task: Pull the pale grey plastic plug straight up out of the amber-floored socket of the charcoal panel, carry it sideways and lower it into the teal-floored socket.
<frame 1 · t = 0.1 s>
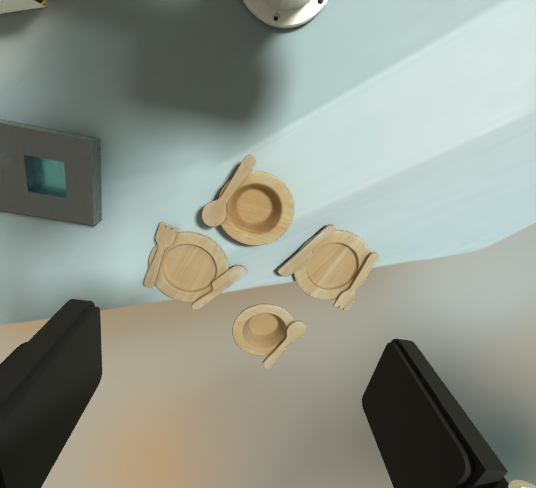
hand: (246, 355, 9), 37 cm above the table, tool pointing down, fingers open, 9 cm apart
panel: (11, 165, 41), on the table
tableware set: (261, 265, 50), on the table
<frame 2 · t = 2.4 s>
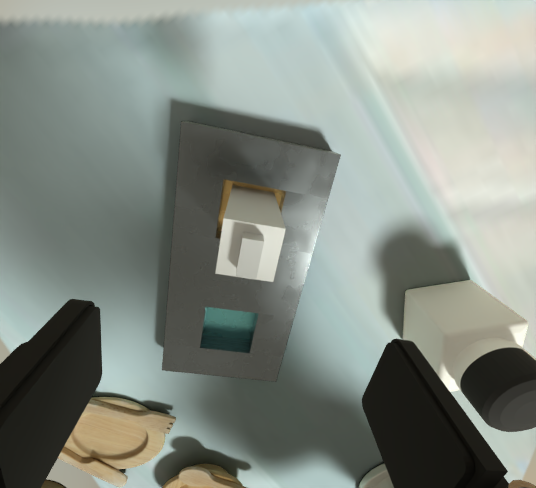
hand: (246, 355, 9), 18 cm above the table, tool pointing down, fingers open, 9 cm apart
panel: (239, 265, 28), on the table
plug: (249, 208, 25), point 1 cm above the table, touching panel
medicine bottle: (433, 309, 32), on the table
tableware set: (130, 482, 42), on the table
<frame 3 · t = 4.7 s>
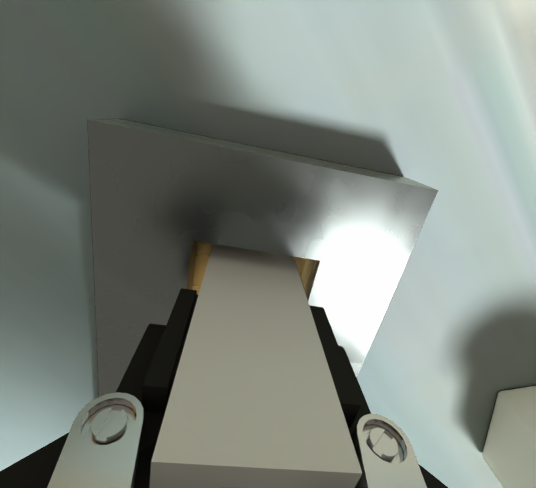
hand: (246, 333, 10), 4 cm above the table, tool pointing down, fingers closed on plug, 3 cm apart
panel: (229, 364, 17), on the table
plug: (247, 280, 14), point 1 cm above the table, touching gripper, panel
medicine bottle: (534, 414, 21), on the table
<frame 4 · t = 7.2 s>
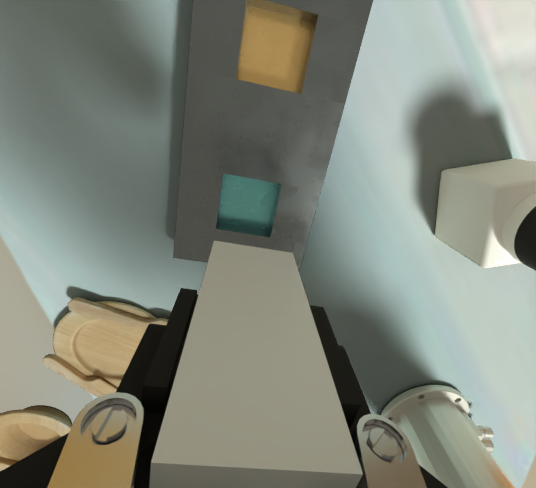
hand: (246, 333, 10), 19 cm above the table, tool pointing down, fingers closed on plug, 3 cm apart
panel: (259, 133, 25), on the table
plug: (247, 280, 14), point 15 cm above the table, touching gripper
medicine bottle: (470, 198, 29), on the table
tableware set: (136, 411, 39), on the table
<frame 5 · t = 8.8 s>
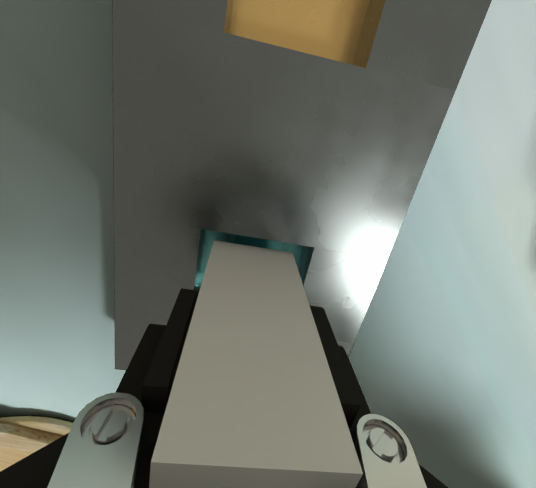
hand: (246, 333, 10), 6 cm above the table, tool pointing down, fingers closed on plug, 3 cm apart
panel: (271, 149, 13), on the table
plug: (247, 280, 14), point 2 cm above the table, touching gripper
when the fingers open (5 cm above the table, at t = 9.8 s): plug stays where it is, resting on panel.
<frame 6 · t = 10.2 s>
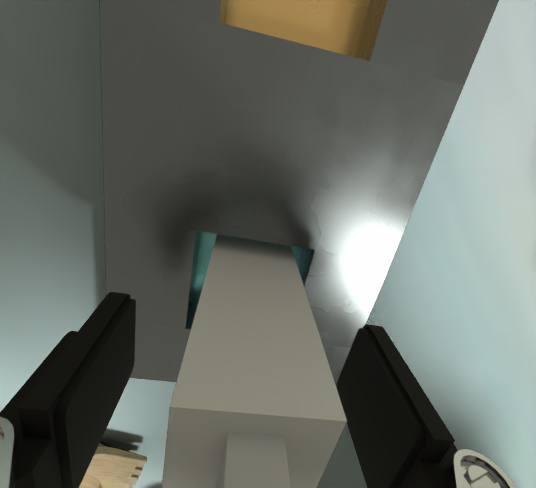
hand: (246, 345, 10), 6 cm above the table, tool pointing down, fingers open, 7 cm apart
panel: (270, 147, 13), on the table
plug: (248, 271, 15), point 1 cm above the table, touching panel
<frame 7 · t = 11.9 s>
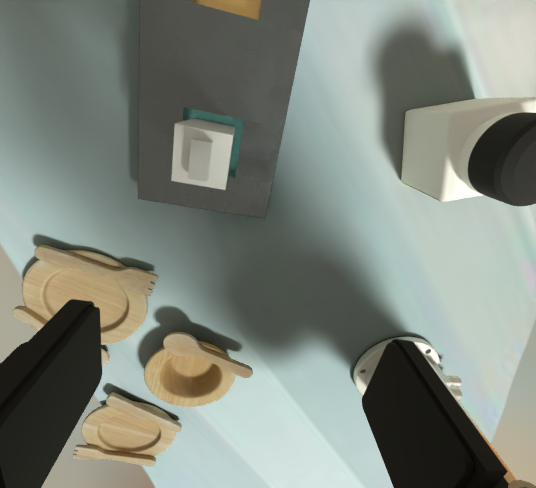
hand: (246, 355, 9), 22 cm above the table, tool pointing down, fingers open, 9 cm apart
panel: (221, 69, 25), on the table
plug: (213, 142, 27), point 1 cm above the table, touching panel
medicine bottle: (435, 142, 30), on the table
tableware set: (113, 368, 40), on the table
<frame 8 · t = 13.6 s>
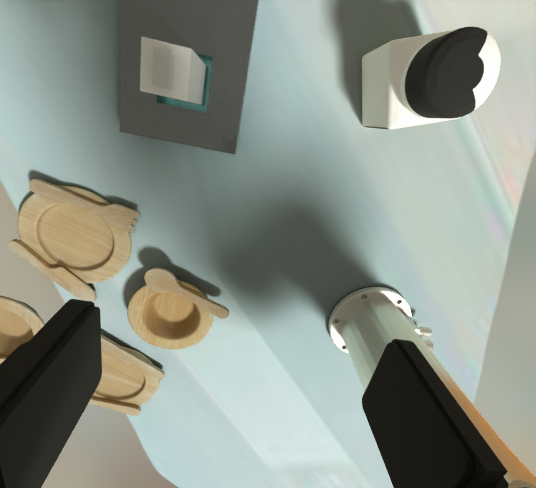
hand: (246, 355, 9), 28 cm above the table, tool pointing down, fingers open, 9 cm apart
panel: (194, 14, 28), on the table
plug: (188, 82, 30), point 1 cm above the table, touching panel
medicine bottle: (392, 88, 32), on the table
tableware set: (101, 311, 42), on the table
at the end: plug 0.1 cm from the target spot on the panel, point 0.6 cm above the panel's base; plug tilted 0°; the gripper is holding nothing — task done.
